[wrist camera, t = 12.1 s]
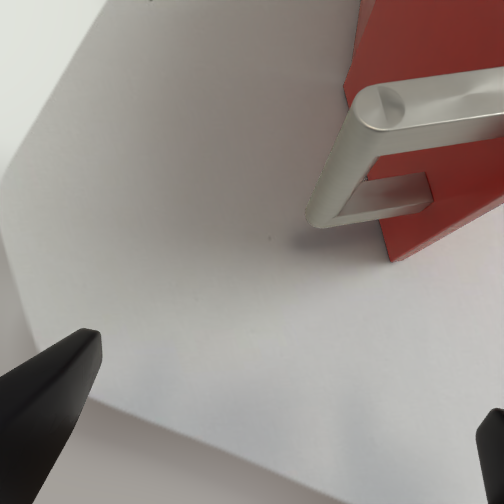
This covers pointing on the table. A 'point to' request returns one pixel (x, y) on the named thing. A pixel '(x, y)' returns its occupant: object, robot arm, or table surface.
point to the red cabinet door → (419, 124)
